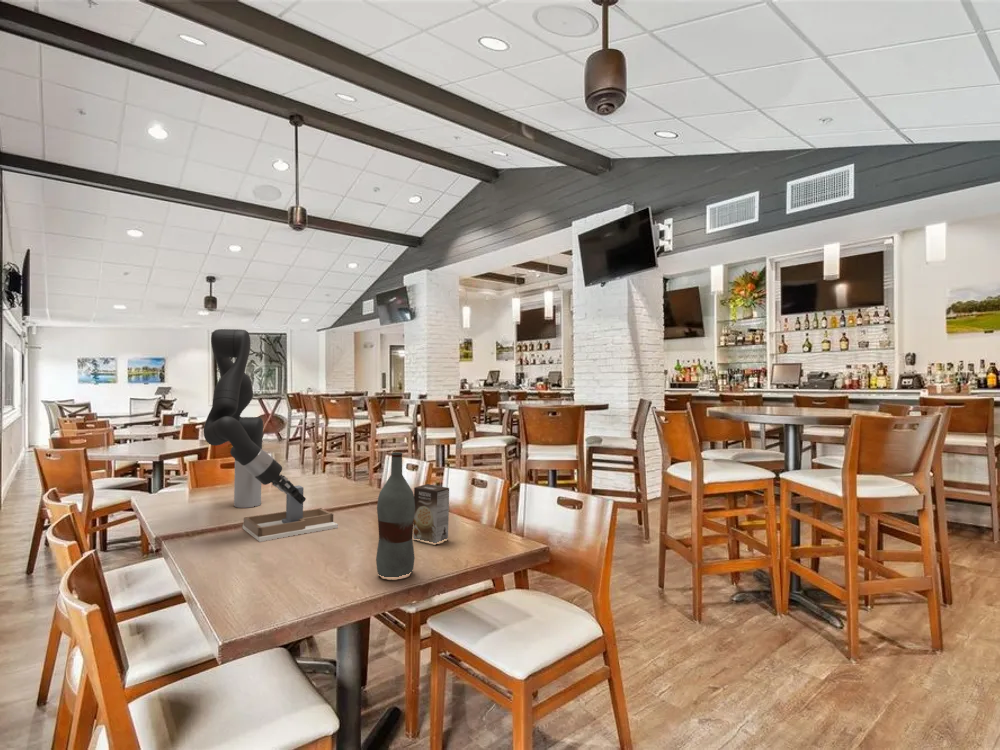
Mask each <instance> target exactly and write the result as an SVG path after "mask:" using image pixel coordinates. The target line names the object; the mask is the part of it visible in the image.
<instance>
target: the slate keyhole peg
mask: <svg viewBox="0 0 1000 750" xmlns="http://www.w3.org/2000/svg"><path fill="white" fill-rule="evenodd" d="M294 486H295V487H296V488H297V489H298V490H299V493H300V494H301V495H303V496H304V486H302V485H294ZM293 491H294V489H293ZM293 491H292V492H291V493H293ZM285 495H286V497H285V501H286V503H285V506H286V507H285V508H286V509H285V511H286V519H282V523H290V522H297V521H299V519H301V518H303V511H304V502H303V503H302V504H300V503H299V502H298V501H297V500H296V499H294V498H293V497H291V495H289V494H288V493H287V494H285Z"/></svg>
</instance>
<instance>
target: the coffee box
mask: <svg viewBox="0 0 1000 750" xmlns="http://www.w3.org/2000/svg"><path fill="white" fill-rule="evenodd" d="M413 489H414V490H413V495H414V500H415V513H414V523H413V535H412V539H413V538H414V539H420V540H424V541H429V542H433V543H437V542H439V541H442V540H444V539H447V538H448V539H449V520H450V519H449V515H450V506H449V505H450V488H449V487H448V486H447V487H445V486H440V485H434V484H429V483H426V484H423V485H419V486H414V488H413Z"/></svg>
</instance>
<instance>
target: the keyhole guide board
mask: <svg viewBox="0 0 1000 750" xmlns="http://www.w3.org/2000/svg"><path fill="white" fill-rule="evenodd" d="M282 519H286V510H285V511H278V512H272V513H271V512H270V513H266V514H265V513H264V514H259V515H251V516H244V517H243V524H242V529H243V530H244V531H245V532H246V533H248V534H249V535H250V536H252V537H253V538H254V539H255V540H257V542H259V543H261V542H266V540H267V541H273V540H277V538H279V539H283V537H284V538H289V537H288V536H290V537H294V536H293V535H295V536H299V535H298V534H301V535H305V534H304V533H307V534H311V533H310V532H312V533H316V531H318V532H322V530H324V531H328V529H329V530H334V529H333V528H335V529H338V528H339V524H338V523H336V522H334V513H332V512H330V511H328V510H326V509H324V508H322V507H319V508H313V509H307V510H306V509H305V510H303V518H301V519H299V521H297V522H290V523H282ZM272 539H273V540H272Z"/></svg>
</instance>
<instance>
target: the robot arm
mask: <svg viewBox="0 0 1000 750" xmlns="http://www.w3.org/2000/svg"><path fill="white" fill-rule="evenodd" d="M210 343H211V349H212V353H213V356H214V358H215V363H216V365H217V368H218V371H219V376H220V379H219V381H217V383H216V385H215V387H214V390H213V397H212V405H211V409H210V411H209V414H208V415H207V418H206V421H205V423H204V425H203V437H204V440H205V442H206V443H208V444H209V445H211V446H221V445H223V444H225V443H227V442H229V443H230V444H231V446H232V447H231V448H230V451H229V453H230V455H231V456H232V457H233V459H234V486H233V487H234V489H233V494H234V495H233V496H234V498H233V506H234V507H235V508H239V509H241V508H254V506H255V507H258V506H260V505H261V504H262V485H269V484H271V483H272V484H271V485H272V486H274V487H275V488H277V489H278V490H279V491H280V492H282V493H284V494H285V495H287V493H288V494H289V495H291V497H293V498H294V499H296V500H297V501H298V502H299V503H300V504H302V503H303V504H304V503H305V501H306V500H307V497H305V496H304V494H303V495H301V494H300V493H299V490H298V489H297V488H296V487H295V486H296V485H294V484H293V483H292V482H291V481H290V480H289V479H288V477H286V476H285V475H282V474H281V472H282V470H283V466H282V465H281V464H280V463H279V462H278V461H277V460H275V459H274V458H273V457H272V456H271V454H269V453H267V452H266V451H265V450H263V437H264V421H263V418H262V417H259V416H241V414H242V413H243V412H244V410H245V409H246V408H248V405H250V403H251V402H252V399H253V396H254V391H253V384H252V381H251V378H250V377H249V376H248V375H247V373H245V372H246V368H247V364H248V360H249V357H250V353H251V346H252V345H251V337H250V333H249V331H248V330H246V329H240V328H239V329H236V328H235V329H234V328H233V329H231V328H230V329H229V328H227V329H226V328H224V329H223V328H218V329H216V330H213V332H212V334H211V337H210ZM233 358H235V360H234V362H233V360H231V359H233ZM293 489H294V491H293ZM292 491H293V493H291V492H292Z"/></svg>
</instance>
